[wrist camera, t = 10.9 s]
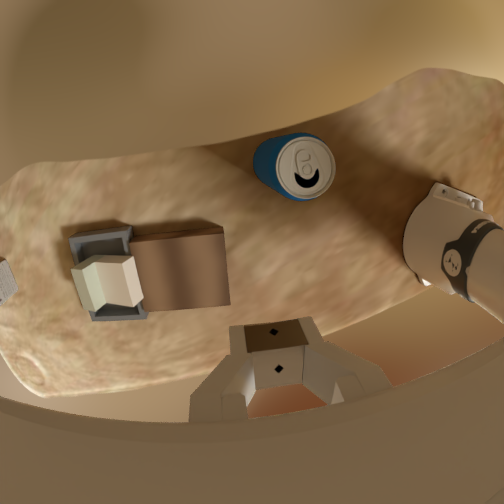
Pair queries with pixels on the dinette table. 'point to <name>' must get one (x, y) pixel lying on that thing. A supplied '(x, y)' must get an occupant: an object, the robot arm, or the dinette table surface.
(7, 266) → the skincare box
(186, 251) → the walnut plate
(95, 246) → the box
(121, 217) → the dinette table surface
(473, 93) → the dinette table surface
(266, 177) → the beverage can
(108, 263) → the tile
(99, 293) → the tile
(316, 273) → the dinette table surface
